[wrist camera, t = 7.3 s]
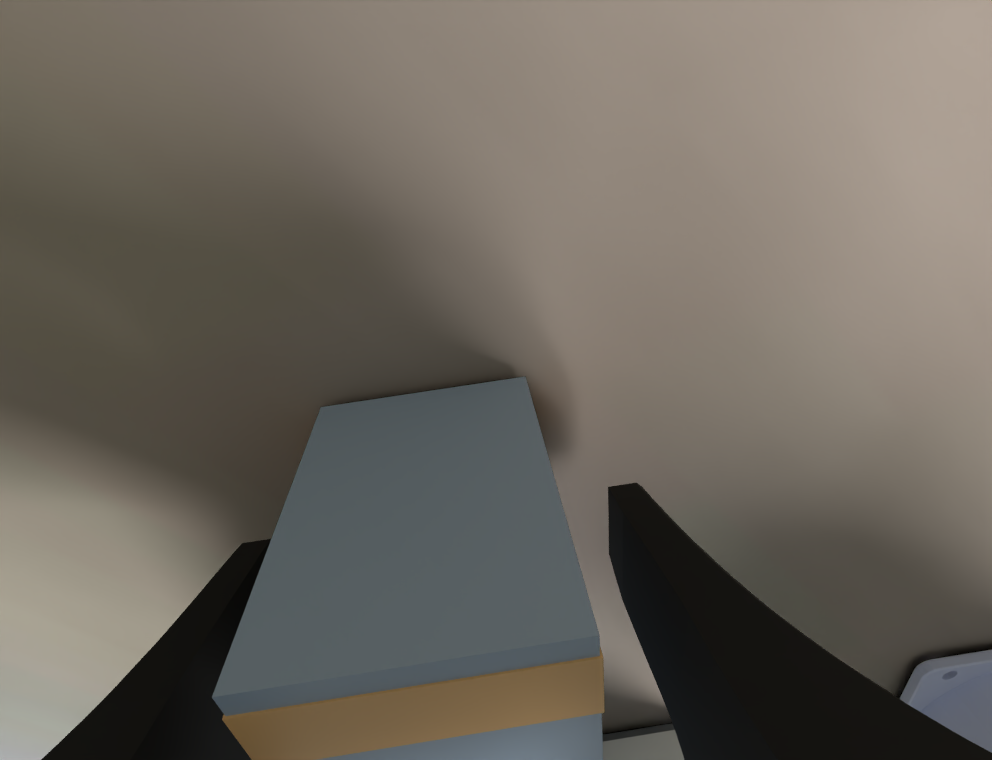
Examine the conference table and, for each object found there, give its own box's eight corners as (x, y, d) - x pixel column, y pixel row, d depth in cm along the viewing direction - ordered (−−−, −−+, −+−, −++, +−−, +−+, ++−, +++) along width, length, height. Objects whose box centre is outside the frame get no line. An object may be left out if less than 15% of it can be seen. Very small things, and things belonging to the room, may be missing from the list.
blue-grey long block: (526, 375, 11) (602, 636, 6) (562, 718, 18) (611, 975, 13) (319, 406, 11) (207, 700, 6) (436, 738, 18) (433, 1006, 13)
